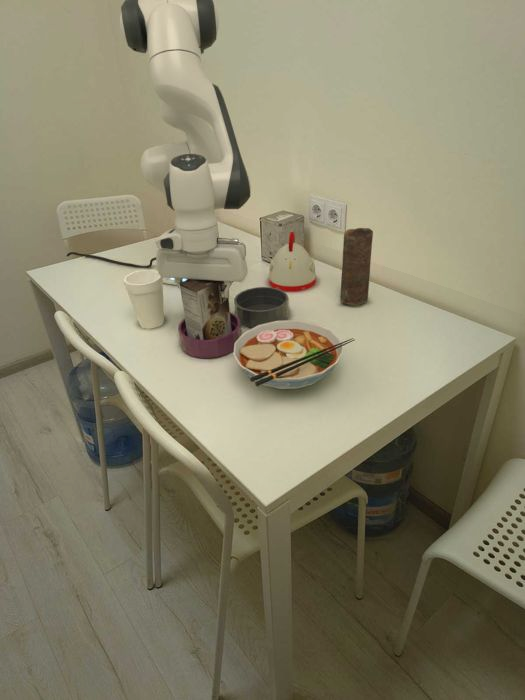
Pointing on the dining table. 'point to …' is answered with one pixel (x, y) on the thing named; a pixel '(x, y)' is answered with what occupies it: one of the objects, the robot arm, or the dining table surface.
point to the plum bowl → (210, 341)
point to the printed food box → (205, 309)
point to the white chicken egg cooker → (292, 268)
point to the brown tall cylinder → (356, 265)
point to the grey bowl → (261, 306)
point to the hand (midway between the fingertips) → (205, 295)
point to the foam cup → (146, 297)
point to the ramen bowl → (288, 353)
